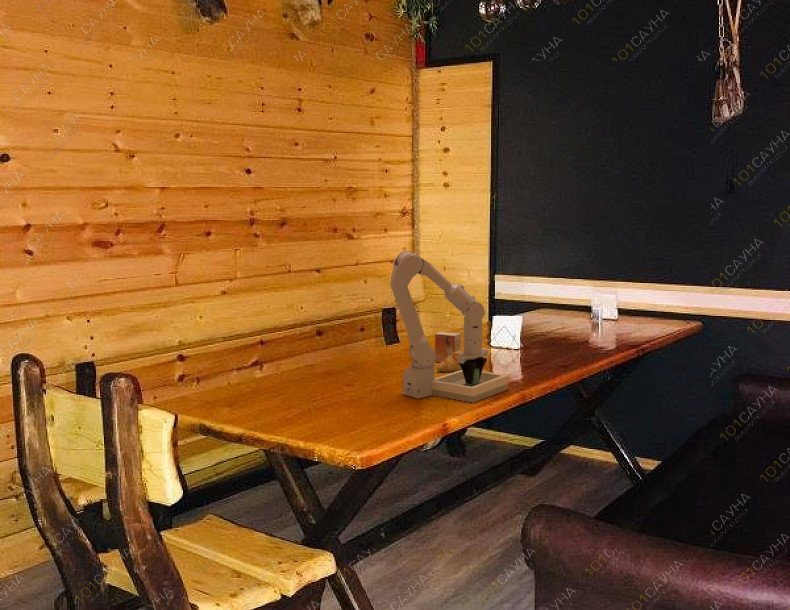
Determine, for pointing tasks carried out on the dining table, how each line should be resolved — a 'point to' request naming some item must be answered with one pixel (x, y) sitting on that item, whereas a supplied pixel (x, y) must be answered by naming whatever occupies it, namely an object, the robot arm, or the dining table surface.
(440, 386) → the bore tray
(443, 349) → the small box
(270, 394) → the dining table surface
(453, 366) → the croissant
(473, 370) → the robot arm
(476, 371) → the peg
